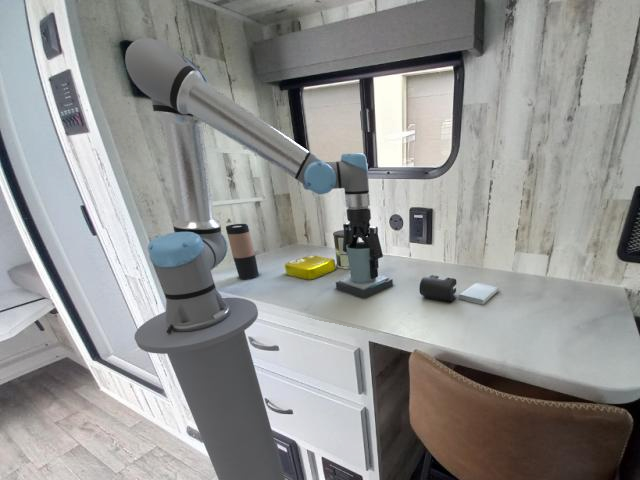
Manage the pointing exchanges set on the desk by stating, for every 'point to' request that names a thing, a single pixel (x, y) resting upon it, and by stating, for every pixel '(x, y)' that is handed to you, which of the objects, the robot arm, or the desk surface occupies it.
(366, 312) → the desk surface
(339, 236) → the coffee can
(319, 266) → the element tile
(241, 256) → the travel mug
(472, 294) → the hard drive
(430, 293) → the end cap
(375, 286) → the scale
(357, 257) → the grey-blue cup
